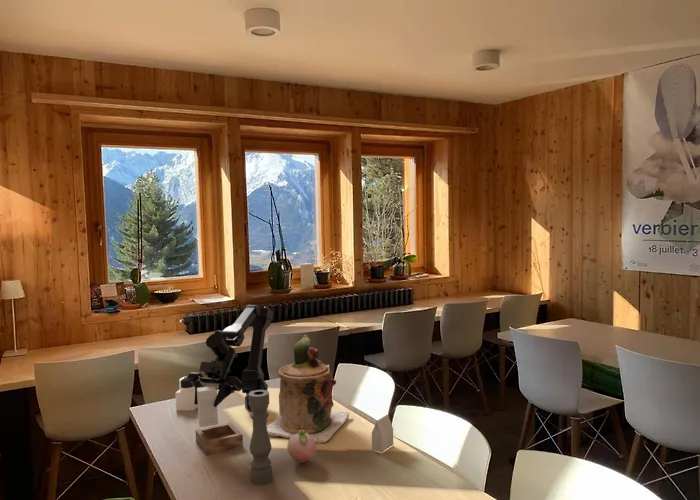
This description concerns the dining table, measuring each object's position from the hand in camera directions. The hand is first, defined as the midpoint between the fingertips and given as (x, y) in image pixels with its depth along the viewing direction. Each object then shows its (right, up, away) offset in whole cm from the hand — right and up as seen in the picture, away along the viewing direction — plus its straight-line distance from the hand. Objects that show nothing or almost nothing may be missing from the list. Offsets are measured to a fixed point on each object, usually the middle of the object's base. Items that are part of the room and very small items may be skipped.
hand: (204, 405), depth 176 cm
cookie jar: (+32, -12, +14) cm, 37 cm away
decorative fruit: (+33, -14, -14) cm, 38 cm away
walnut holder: (+4, -13, +1) cm, 14 cm away
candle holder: (+22, -14, -23) cm, 35 cm away
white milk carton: (+58, -13, -5) cm, 59 cm away
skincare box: (0, -7, +2) cm, 7 cm away
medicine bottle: (-16, -11, +35) cm, 40 cm away
